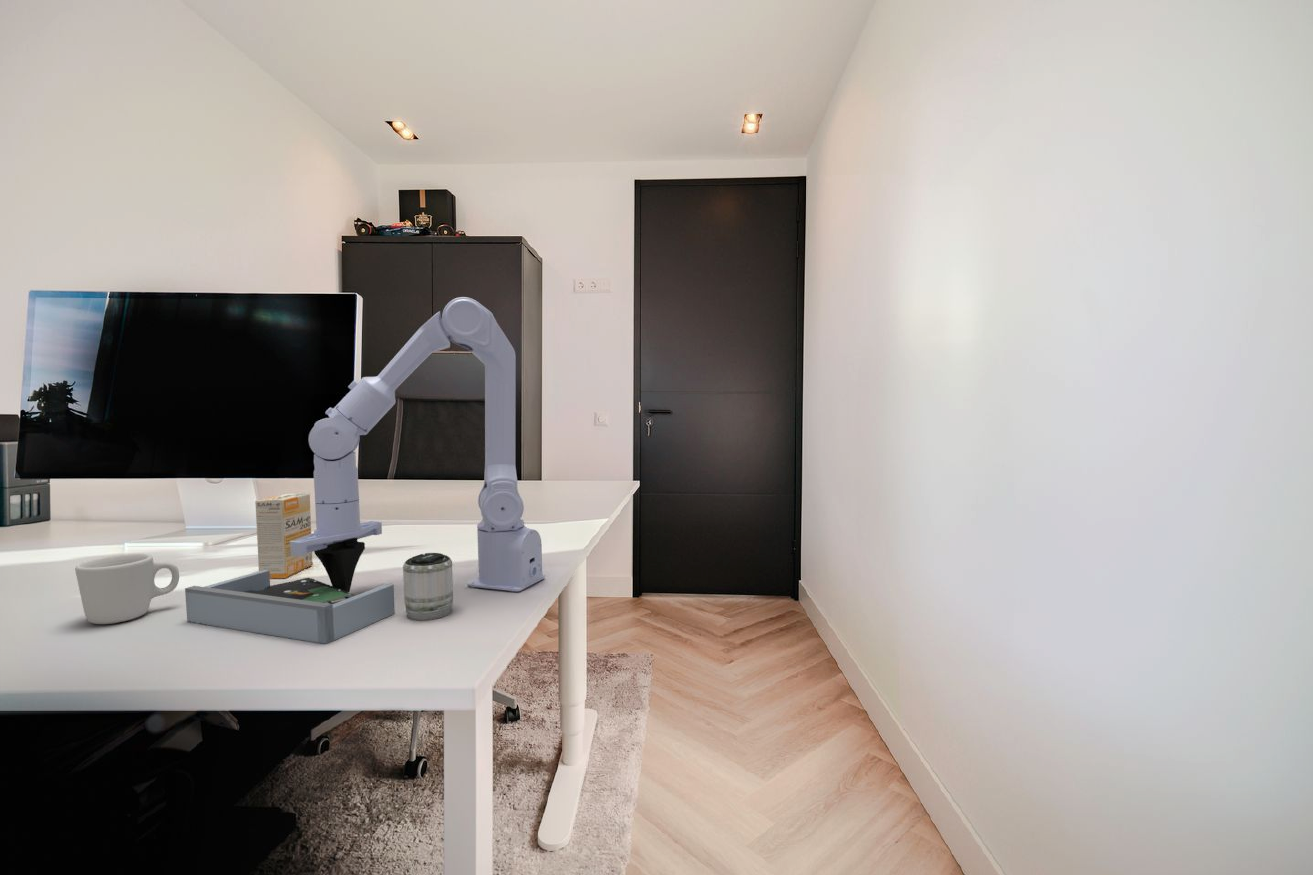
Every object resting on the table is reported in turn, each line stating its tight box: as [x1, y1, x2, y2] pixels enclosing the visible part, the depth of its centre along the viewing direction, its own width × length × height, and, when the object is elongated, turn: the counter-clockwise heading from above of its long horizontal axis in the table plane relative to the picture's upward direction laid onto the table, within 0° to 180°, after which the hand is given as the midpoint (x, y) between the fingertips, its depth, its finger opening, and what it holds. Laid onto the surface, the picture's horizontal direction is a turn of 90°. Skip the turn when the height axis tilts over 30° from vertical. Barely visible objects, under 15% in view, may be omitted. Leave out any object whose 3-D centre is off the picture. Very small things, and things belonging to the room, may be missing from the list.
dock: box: [184, 570, 396, 645], centre depth 85 cm, size 24×11×4 cm, turn 70°
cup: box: [74, 553, 180, 625], centre depth 87 cm, size 11×8×8 cm
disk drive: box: [244, 577, 353, 604], centre depth 88 cm, size 10×3×15 cm
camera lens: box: [402, 552, 454, 621], centre depth 86 cm, size 6×6×8 cm
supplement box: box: [254, 492, 313, 579], centre depth 108 cm, size 8×5×13 cm, turn 179°
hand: (341, 592), depth 93 cm, fingers closed
